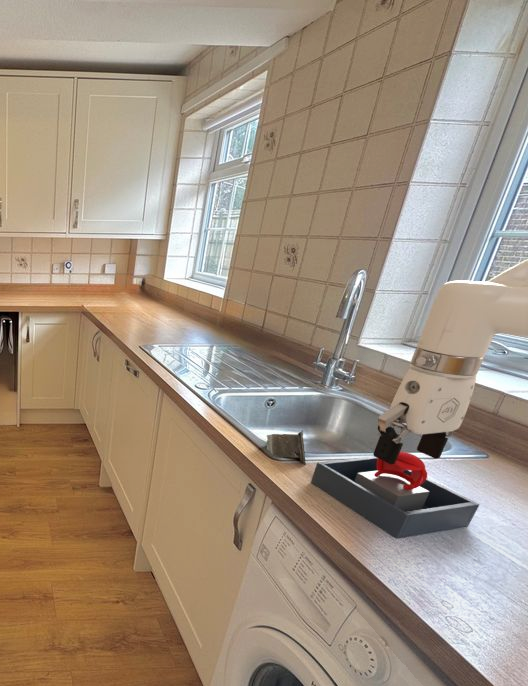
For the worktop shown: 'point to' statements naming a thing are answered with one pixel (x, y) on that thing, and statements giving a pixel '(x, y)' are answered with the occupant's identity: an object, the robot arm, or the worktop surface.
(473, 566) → the worktop surface
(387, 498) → the block
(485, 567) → the worktop surface
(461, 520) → the dark grey tray
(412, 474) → the red curved piece
